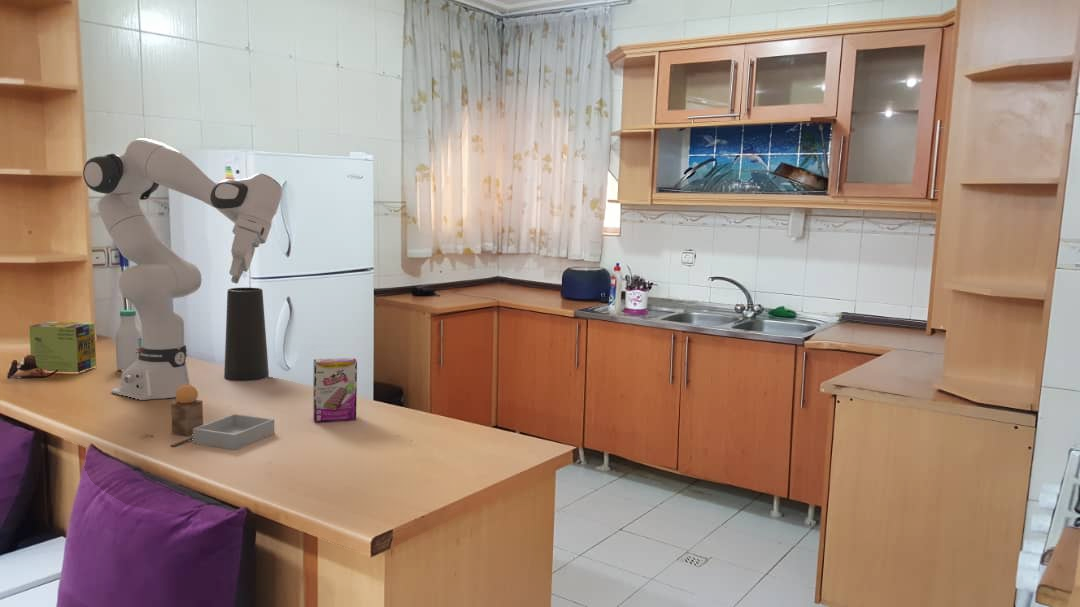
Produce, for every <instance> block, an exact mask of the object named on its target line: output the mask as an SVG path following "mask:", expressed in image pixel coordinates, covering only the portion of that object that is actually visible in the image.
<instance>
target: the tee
mask: <svg viewBox="0 0 1080 607" xmlns="http://www.w3.org/2000/svg"><path fill="white" fill-rule="evenodd" d="M203 407H204V406H203V400H199V399H196V401H195V402H193V403H190V404H181V403H179V402H178V401H177V400H176V401H174V402H171V403H170V410H171V412H170V413H171V435H172V434H173V435H176V434H179V435H178V436H182V435H186V436H185V437H190V436H189V435H191V436H193V435H192V434H193V428H196V427H199V426H202V425H204V416H203V415H204V413H203V412H204V410H203V409H204V408H203Z"/></svg>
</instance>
